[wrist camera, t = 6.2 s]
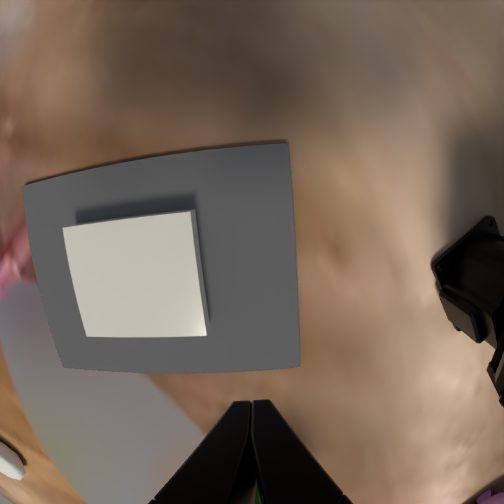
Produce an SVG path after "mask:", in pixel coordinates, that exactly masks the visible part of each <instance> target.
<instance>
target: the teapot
mask: <svg viewBox="0 0 504 504" xmlns="http://www.w3.org/2000/svg"><path fill="white" fill-rule="evenodd" d="M476 502H477V504H504V492H502V493H498V494H495V495H493V496H491V490H487V491H486V492H484V493H483V494H481V495H480V496H479V497H478V498H477V499H476Z"/></svg>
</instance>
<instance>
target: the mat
mask: <svg viewBox="0 0 504 504" xmlns="http://www.w3.org/2000/svg"><path fill="white" fill-rule="evenodd" d="M22 192H23V202H24V210H25V218H26V225H27V232H28V238H29V244H30V250H31V255H32V260H33V265H34V270H35V274H36V279H37V283H38V287H39V291H40V295H41V299H42V303H43V306H44V310H45V313H46V317H47V320H48V324H49V327H50V330H51V333H52V336H53V339H54V342H55V345H56V348H57V351H58V354H59V357H60V359H61V362H62V365H63V367H65V368H76V369H85V370H98V371H112V372H133V373H224V372H244V371H260V370H273V369H284V368H294V367H300V350H299V313H298V287H297V265H296V246H295V228H294V213H293V198H292V184H291V172H290V159H289V148H288V143H280V144H265V145H252V146H240V147H229V148H220V149H211V150H202V151H194V152H186V153H179V154H172V155H165V156H159V157H152V158H146V159H140V160H134V161H129V162H123V163H118V164H113V165H108V166H103V167H98V168H93V169H89V170H84V171H80V172H75V173H71V174H67V175H62V176H58V177H54V178H50V179H47V180H43V181H39V182H35V183H32V184H28V185H24V186H22ZM191 209H195V212H196V221H197V230H198V239H199V248H200V256H201V264H202V272H203V279H204V287H205V294H206V301H207V309H208V315H209V322H210V327H209V330H208V334H207V336H187V337H87V336H86V332H85V329H84V325H83V322H82V318H81V314H80V311H79V307H78V303H77V299H76V295H75V290H74V286H73V282H72V277H71V272H70V268H69V263H68V257H67V252H66V246H65V240H64V234H63V228H64V227H67V226H70V225H74V224H80V223H87V222H94V221H101V220H108V219H116V218H123V217H131V216H139V215H147V214H155V213H164V212H173V211H182V210H191Z"/></svg>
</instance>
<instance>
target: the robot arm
mask: <svg viewBox="0 0 504 504" xmlns="http://www.w3.org/2000/svg"><path fill="white" fill-rule="evenodd" d="M489 221H490V224H489ZM439 264H440V268H439V269H437V267H438V265H439ZM432 271H433V274H434V276H435V278H436V281H437V283H438V286H439V288H440V291H439V297H440V299H441V302H442V304H443V307H444V310H445V312H446V315H447V318H448V320H449V321H451V322H452V323H453V326H454V328H455V329H456V330H457V331H463V332H464V333H465V334H466V335H468V336H469V337H470V338H471V339H472V340H474V341H475V342H476V343H482V342H483V341H484V340H485V341H486V342H487V343H488V344H490V345H491V346H492V347H493V348H495V352H494V355H493V358H492V360H491V361H490V362H489V365H488V367H487V372H488V374H489V376H490V378H491V380H492V382H493V384H494V387H495V389H496V391H497V393H498V395H499V397H500V398H499V402H500V404H501V406H502V407H503V408H504V236H501V235H500V233H499V230H498V227H497V224H496V221H495V218H494V217H493V216H486V217H485V218H484V219H483V220H481V221H480V222H479V223H478V224H477V225H476V226H475V227H474V228H472V229H471V230H470V231H469V232H468V233H467V234H466V235H464V236H463V237H462V238H461V239H460V240H459V241H457V242H456V243H455V244H454V245H453V246H451V247H450V248H449V249H448V250H447V251H445V252H444V253H443V254H442V255H441V256H439V257H438V258H437V259H436V260H434V262H433V263H432ZM256 481H257V488H258V494H259V499H260V504H353V503H352V502H351V500H350V499H349V498H348V497H347V496H346V495H343V491H342V490H341V489H340V488H339V487H338V486H337V484H336V483H335V482H334V481H333V480H332V478H331V477H330V476H329V475H328V474H327V472H326V471H325V470H324V469H323V468H322V466H321V465H320V464H319V463H318V461H317V460H316V459H315V458H314V456H313V455H312V454H311V453H310V451H309V450H308V449H307V448H306V446H305V445H304V444H303V443H302V441H301V440H300V439H299V437H298V436H297V435H296V434H295V432H294V431H293V430H292V428H291V427H290V426H289V424H288V423H287V422H286V420H285V419H284V418H283V416H282V415H281V414H280V412H279V411H278V410H277V408H276V407H275V406H274V404H273V403H272V402H271V401H270V400H269V399H264V400H254V401H252V403H251V402H250V401H234V402H232V404H231V405H230V406H229V407H228V409H227V410H226V411H225V413H224V414H223V415H222V417H221V418H220V419H219V420H218V422H217V423H216V424H215V425H214V427H213V428H212V429H211V430H210V432H209V433H208V434H207V436H206V437H205V438H204V439H203V440H202V442H201V443H200V444H199V446H198V447H197V448H196V449H195V450H194V452H193V453H192V454H191V455H190V456H189V458H188V459H187V460H186V461H185V462H184V464H183V465H182V466H181V467H180V468H179V469H178V471H177V472H176V473H175V474H174V475H173V476H172V478H171V479H170V480H169V481H168V482H167V483H166V484H165V486H164V487H163V488H162V489H161V490H160V491H159V492H158V494H157V495H156V496H155V497H154V499H155V500H151V501H150V502H149V503H148V504H254V502H255V494H256Z"/></svg>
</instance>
